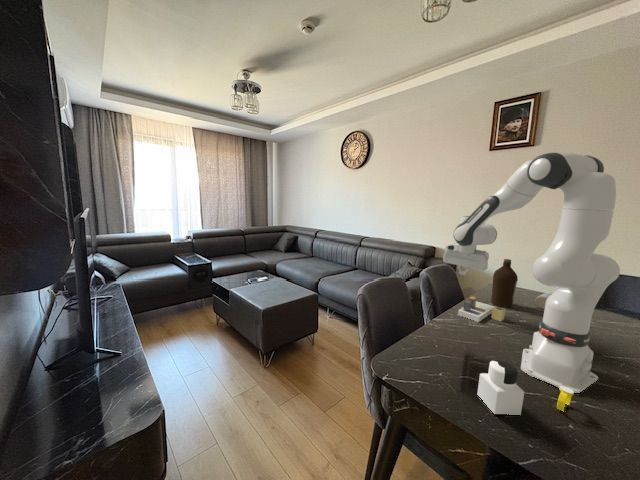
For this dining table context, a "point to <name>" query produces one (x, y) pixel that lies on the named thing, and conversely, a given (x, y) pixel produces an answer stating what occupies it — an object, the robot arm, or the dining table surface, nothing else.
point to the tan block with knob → (498, 313)
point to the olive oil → (504, 285)
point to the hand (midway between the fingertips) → (462, 274)
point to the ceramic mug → (542, 300)
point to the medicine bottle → (501, 389)
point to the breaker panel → (477, 312)
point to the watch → (564, 397)
